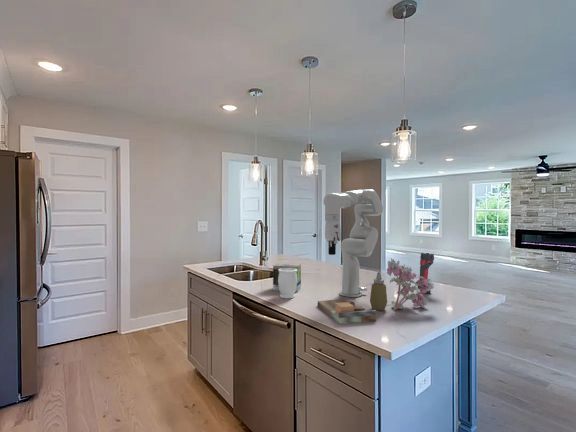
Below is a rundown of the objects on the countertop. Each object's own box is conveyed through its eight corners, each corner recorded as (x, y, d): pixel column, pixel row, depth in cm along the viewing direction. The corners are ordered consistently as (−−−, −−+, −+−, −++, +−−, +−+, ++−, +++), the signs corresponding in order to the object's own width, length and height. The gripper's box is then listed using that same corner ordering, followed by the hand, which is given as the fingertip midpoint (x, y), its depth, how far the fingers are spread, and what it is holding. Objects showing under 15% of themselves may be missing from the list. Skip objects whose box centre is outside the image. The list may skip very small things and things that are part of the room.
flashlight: (436, 294, 187) (437, 254, 186) (423, 294, 185) (424, 254, 185) (428, 290, 194) (429, 252, 194) (416, 291, 193) (417, 252, 193)
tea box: (301, 288, 196) (301, 264, 195) (297, 292, 186) (297, 266, 186) (277, 286, 199) (277, 262, 199) (272, 290, 190) (272, 265, 189)
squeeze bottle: (374, 305, 162) (374, 269, 161) (389, 308, 156) (390, 271, 156) (366, 309, 155) (367, 271, 155) (382, 312, 150) (383, 274, 150)
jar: (295, 300, 170) (295, 271, 170) (275, 298, 172) (276, 270, 172) (298, 294, 180) (298, 268, 180) (280, 293, 182) (280, 267, 182)
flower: (430, 317, 140) (438, 262, 149) (377, 304, 150) (388, 254, 159) (430, 323, 157) (437, 274, 165) (382, 312, 167) (391, 266, 175)
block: (347, 311, 144) (348, 302, 144) (353, 315, 138) (354, 306, 138) (335, 312, 142) (335, 302, 142) (340, 316, 137) (340, 306, 136)
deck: (349, 303, 164) (349, 295, 164) (376, 321, 139) (376, 310, 139) (317, 306, 159) (317, 297, 159) (339, 324, 134) (339, 313, 134)
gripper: (345, 218, 156) (345, 256, 157) (333, 217, 171) (333, 252, 171) (331, 218, 155) (330, 256, 155) (320, 217, 169) (319, 252, 169)
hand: (331, 254), depth 163 cm, fingers closed
